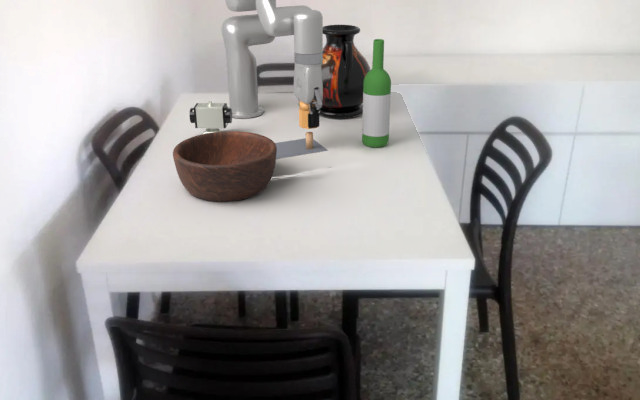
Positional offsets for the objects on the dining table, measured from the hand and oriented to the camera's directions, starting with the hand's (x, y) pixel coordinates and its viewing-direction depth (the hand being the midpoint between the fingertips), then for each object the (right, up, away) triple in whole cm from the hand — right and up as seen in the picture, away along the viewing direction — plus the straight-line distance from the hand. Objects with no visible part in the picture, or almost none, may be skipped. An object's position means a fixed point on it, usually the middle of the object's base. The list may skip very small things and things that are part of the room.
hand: (309, 123), depth 177 cm
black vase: (+9, +8, +37) cm, 39 cm away
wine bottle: (+19, -5, +10) cm, 22 cm away
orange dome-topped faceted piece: (0, -1, 0) cm, 1 cm away
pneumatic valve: (-29, -4, +13) cm, 32 cm away
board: (-5, -8, +3) cm, 10 cm away
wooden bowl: (-20, -18, -17) cm, 32 cm away
